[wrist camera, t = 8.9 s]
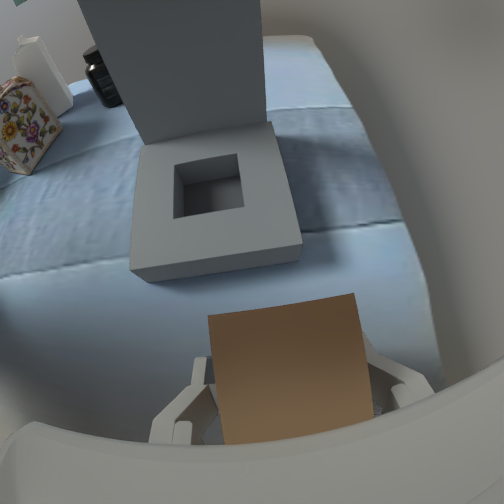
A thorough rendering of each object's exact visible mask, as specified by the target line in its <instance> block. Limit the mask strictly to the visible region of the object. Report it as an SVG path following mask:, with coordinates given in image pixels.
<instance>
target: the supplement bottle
mask: <svg viewBox="0 0 504 504" xmlns="http://www.w3.org/2000/svg"><path fill="white" fill-rule="evenodd" d="M83 57H84V59H85V62H86V63H87V64H88V66H87V67H86V70H85V74H86V76H87V78H88V80H89V82H90V84H91V85H92V87H93V89H94V91H95V93H96V95H97V96H98V98H99V100H100V102H101V103H102V105H103V106H104V107H114V106H116V105H119V104H121V103H122V102H123V101H122V99H121V97H120V95H119V93H118V90H117V88H116V86H115V84H114V82H113V80H112V78H111V76H110V74H109V72H108V69H107V67H106V65H105V63H104V61H103V59H102V56H101V54H100V52H99V50H98V48H97V45H95V46H93V47H91V48H89V49H88V50H87V51H86V52H85V53H84V54H83Z"/></svg>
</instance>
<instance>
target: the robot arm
mask: <svg viewBox="0 0 504 504" xmlns="http://www.w3.org/2000/svg"><path fill="white" fill-rule="evenodd" d="M362 335H363V340H364V346H365V352H366V358H367V364H368V371H369V377H370V385H371V392H372V400H373V401H374V402H375V403H376V404H378V405H379V406H381V407H382V408H383V409H384V410H383V412H382V415H379V416H376V417H374V419H370V420H367V421H364V422H360V423H357V424H353V425H350V426H346V427H342V428H338V429H334V430H330V431H326V432H321V433H316V434H312V435H306V436H301V437H295V438H289V439H283V440H276V441H268V442H260V443H250V444H237V445H225V444H218V445H205V444H204V442H203V441H202V439H201V436H202V435H203V433H204V432H205V431H206V429H207V428H208V426H209V425H210V424H211V422H212V421H213V419H214V418H215V416H216V415H217V413H218V411H219V406H218V399H217V392H216V384H215V376H214V369H213V360H212V356H208V357H196V358H195V360H194V366H193V373H192V379H191V385H190V386H186V387H185V388H184V389H183V391H182V392H181V393H180V394H179V395H178V396H177V397H176V398H175V399H174V400H173V401H172V402H171V403H169V404H168V405H167V406H166V407H165V408H164V409H163V410H162V411H161V412H160V413H159V414H158V415H157V416H156V417H155V418H154V419H153V422H152V427H151V431H150V436H149V441H148V443H143V442H133V441H125V440H117V439H111V438H104V437H99V436H93V435H88V434H83V433H79V432H74V431H70V430H66V429H62V428H58V427H54V426H51V425H47V424H44V423H41V422H37V421H32V422H30V423H28V424H26V425H24V426H23V427H21V428H20V429H18V430H17V431H15V432H14V433H12V434H11V435H10V436H9V437H8V438H7V439H6V441H5V442H4V444H3V446H2V447H1V449H0V504H504V356H502V357H501V358H499V359H498V360H496V361H495V362H493V363H491V364H490V365H488V366H487V367H485V368H483V369H482V370H480V371H478V372H476V373H475V374H473V375H471V376H470V377H467V378H465V379H464V380H462V381H460V382H458V383H456V384H454V385H452V386H450V387H448V388H446V389H444V390H442V391H440V392H437V393H435V392H434V391H433V389H432V388H431V386H430V385H429V383H428V381H427V380H426V378H425V377H424V375H423V374H421V373H419V372H416V371H414V370H412V369H410V368H408V367H406V366H404V365H402V364H400V363H397V362H395V361H393V360H391V359H389V358H387V357H385V356H383V355H381V354H380V355H377V353H376V352H375V350H374V348H373V346H372V345H371V343H370V341H369V340H368V338H367V337H366V335H365V333H364V332H362Z"/></svg>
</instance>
